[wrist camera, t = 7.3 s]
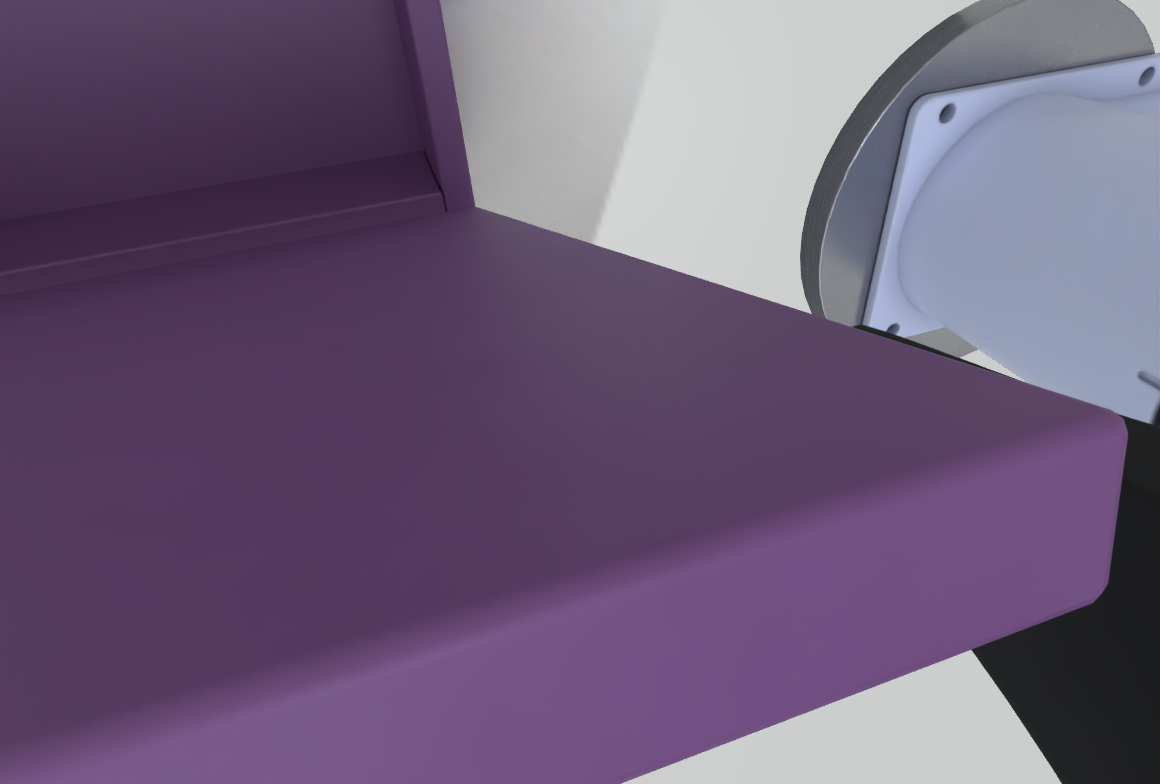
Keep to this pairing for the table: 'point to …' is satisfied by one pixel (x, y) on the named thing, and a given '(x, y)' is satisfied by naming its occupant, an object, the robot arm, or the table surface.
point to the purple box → (215, 128)
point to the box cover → (494, 513)
